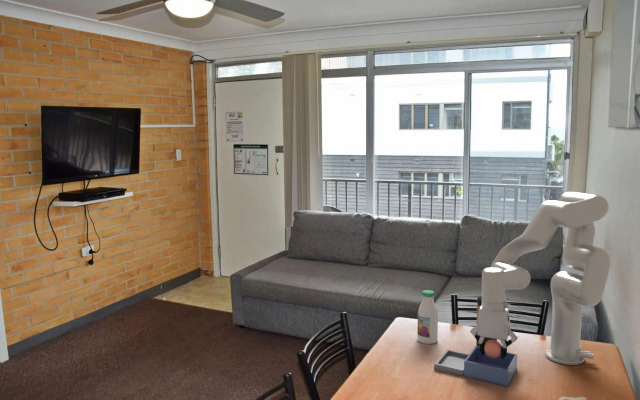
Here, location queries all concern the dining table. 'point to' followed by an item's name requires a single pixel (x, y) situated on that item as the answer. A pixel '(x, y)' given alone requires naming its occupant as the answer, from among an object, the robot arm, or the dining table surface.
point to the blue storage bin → (490, 367)
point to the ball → (492, 348)
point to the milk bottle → (427, 319)
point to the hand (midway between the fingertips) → (493, 355)
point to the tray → (451, 362)
